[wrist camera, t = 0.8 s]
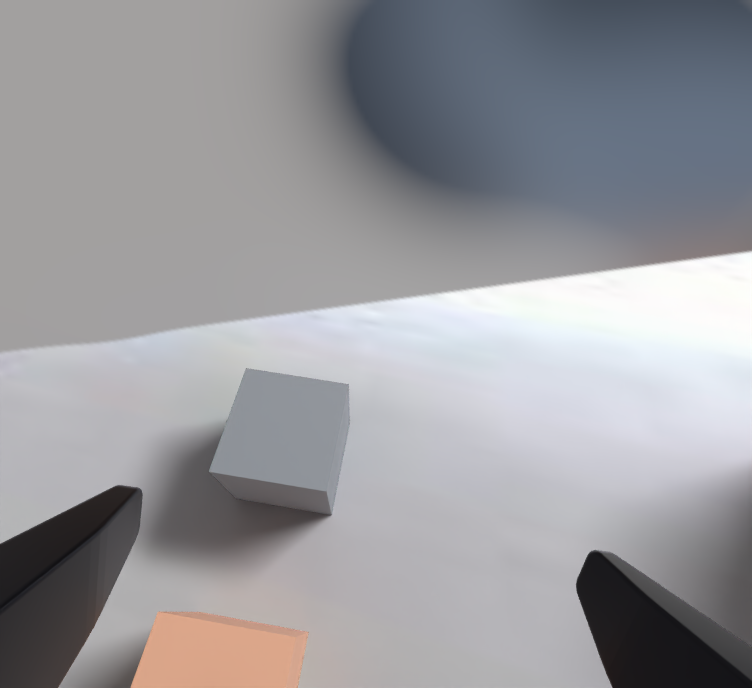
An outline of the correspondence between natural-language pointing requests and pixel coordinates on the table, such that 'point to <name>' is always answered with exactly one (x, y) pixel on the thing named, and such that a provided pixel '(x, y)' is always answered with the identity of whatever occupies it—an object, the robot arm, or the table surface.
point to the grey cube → (284, 441)
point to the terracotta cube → (219, 653)
